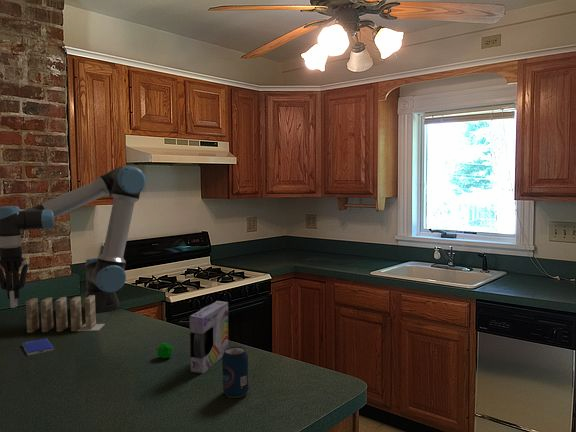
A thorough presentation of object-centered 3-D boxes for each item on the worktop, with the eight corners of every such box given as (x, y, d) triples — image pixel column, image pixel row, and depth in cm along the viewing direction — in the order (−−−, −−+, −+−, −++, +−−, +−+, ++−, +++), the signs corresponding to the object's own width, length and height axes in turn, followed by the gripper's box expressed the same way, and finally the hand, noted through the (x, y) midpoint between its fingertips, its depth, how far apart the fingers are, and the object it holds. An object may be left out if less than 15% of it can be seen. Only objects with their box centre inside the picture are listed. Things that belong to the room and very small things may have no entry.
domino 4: (82, 326, 199) (80, 296, 198) (76, 330, 193) (75, 300, 192) (76, 326, 199) (75, 296, 198) (71, 330, 193) (69, 300, 192)
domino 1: (39, 327, 198) (37, 297, 197) (32, 332, 192) (30, 301, 191) (34, 327, 198) (32, 297, 197) (27, 332, 192) (25, 301, 191)
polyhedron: (175, 355, 165) (175, 341, 164) (168, 361, 160) (167, 346, 159) (162, 354, 166) (161, 340, 166) (154, 359, 161) (153, 345, 161)
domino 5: (96, 324, 199) (94, 295, 198) (91, 329, 194) (89, 298, 193) (91, 324, 199) (89, 295, 198) (86, 329, 193) (84, 299, 192)
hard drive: (22, 342, 177) (27, 352, 167) (47, 338, 182) (54, 347, 172) (22, 346, 177) (27, 357, 167) (47, 342, 182) (54, 351, 172)
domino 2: (53, 327, 198) (52, 297, 197) (47, 331, 192) (45, 301, 191) (48, 327, 198) (46, 297, 197) (42, 331, 192) (40, 301, 191)
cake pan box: (202, 375, 148) (200, 317, 147) (187, 373, 150) (185, 315, 148) (230, 353, 166) (229, 301, 165) (216, 351, 168) (215, 300, 166)
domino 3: (67, 326, 199) (66, 296, 198) (62, 331, 193) (60, 300, 192) (62, 326, 199) (61, 297, 198) (56, 331, 193) (55, 300, 192)
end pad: (104, 324, 201) (104, 323, 201) (98, 330, 193) (98, 329, 193) (84, 325, 200) (84, 324, 200) (77, 331, 192) (77, 330, 192)
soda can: (217, 393, 136) (216, 350, 135) (237, 385, 140) (236, 343, 139) (233, 401, 131) (232, 356, 130) (254, 393, 136) (253, 349, 135)
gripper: (32, 244, 196) (35, 303, 198) (-3, 245, 195) (1, 304, 197) (23, 247, 189) (27, 308, 190) (-13, 248, 188) (-9, 310, 190)
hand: (14, 306), depth 194 cm, fingers closed
